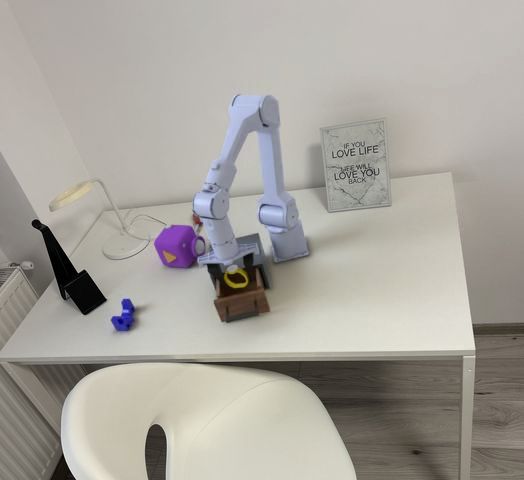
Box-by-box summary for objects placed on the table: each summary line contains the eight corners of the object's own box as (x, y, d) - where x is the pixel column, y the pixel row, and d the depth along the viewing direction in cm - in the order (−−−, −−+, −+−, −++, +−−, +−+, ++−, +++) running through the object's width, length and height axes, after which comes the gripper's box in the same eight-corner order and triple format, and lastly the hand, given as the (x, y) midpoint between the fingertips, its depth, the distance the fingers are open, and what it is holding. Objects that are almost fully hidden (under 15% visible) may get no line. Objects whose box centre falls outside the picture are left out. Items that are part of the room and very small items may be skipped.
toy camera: (205, 269, 154) (193, 241, 148) (161, 272, 158) (148, 245, 152) (214, 245, 162) (203, 217, 155) (171, 248, 166) (160, 221, 159)
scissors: (210, 211, 176) (209, 208, 175) (201, 237, 166) (200, 235, 165) (194, 213, 177) (193, 211, 177) (185, 239, 167) (184, 237, 167)
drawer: (272, 325, 130) (265, 305, 126) (222, 336, 132) (213, 317, 127) (266, 279, 143) (260, 259, 139) (220, 290, 145) (213, 270, 140)
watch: (252, 282, 136) (246, 264, 132) (249, 289, 134) (243, 271, 130) (229, 282, 137) (223, 264, 134) (226, 290, 136) (219, 272, 132)
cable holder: (128, 331, 143) (121, 320, 140) (116, 330, 144) (110, 320, 141) (140, 309, 148) (134, 298, 145) (129, 309, 149) (123, 298, 147)
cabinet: (270, 288, 142) (262, 263, 136) (219, 300, 143) (209, 276, 137) (265, 257, 152) (258, 232, 146) (218, 268, 153) (209, 244, 147)
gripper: (191, 255, 123) (209, 298, 132) (253, 240, 122) (267, 285, 131) (191, 237, 129) (209, 280, 138) (251, 222, 127) (265, 267, 136)
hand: (237, 281), depth 135 cm, fingers closed on watch, 6 cm apart
